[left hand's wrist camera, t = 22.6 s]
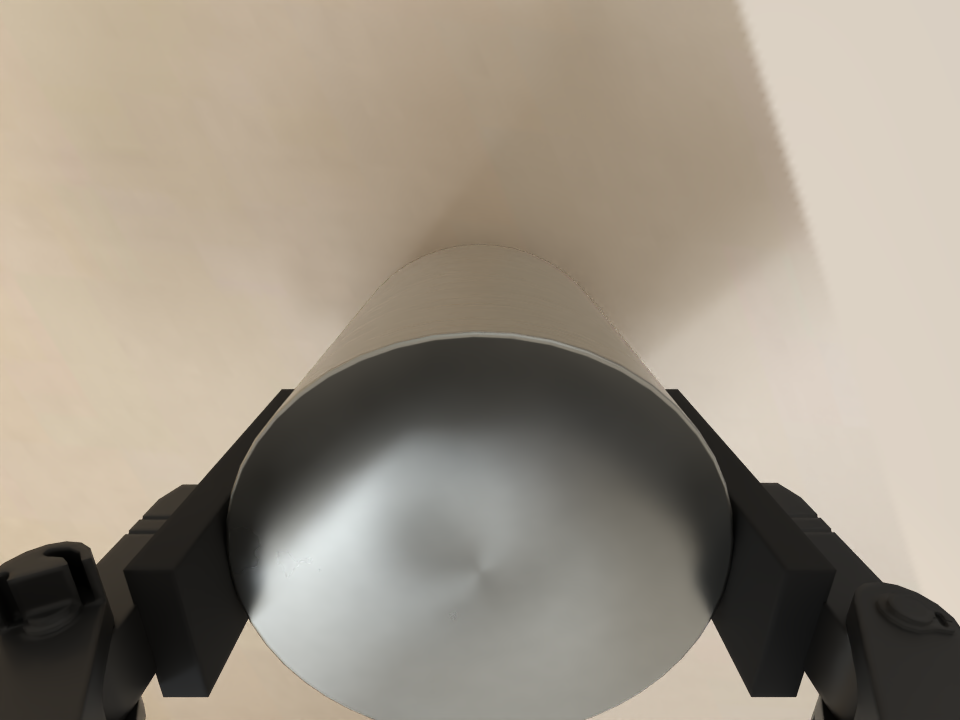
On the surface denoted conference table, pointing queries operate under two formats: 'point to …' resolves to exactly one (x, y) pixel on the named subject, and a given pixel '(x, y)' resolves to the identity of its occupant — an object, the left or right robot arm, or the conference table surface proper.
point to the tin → (479, 505)
